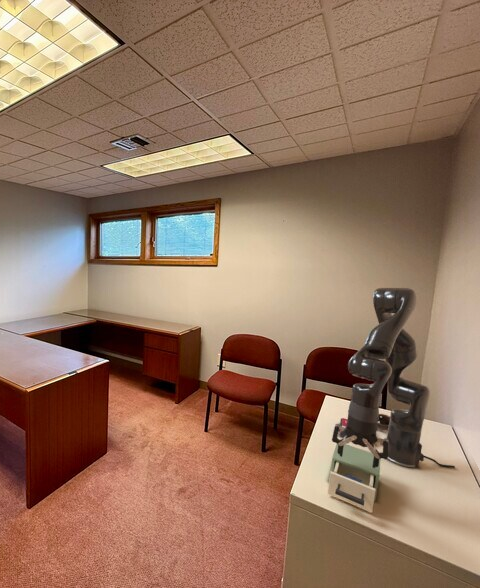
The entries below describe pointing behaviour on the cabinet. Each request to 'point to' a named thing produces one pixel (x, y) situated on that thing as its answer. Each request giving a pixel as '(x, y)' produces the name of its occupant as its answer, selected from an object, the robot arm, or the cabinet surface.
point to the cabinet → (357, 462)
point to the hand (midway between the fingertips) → (356, 461)
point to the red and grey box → (343, 424)
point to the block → (353, 478)
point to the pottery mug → (383, 422)
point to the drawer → (352, 486)
